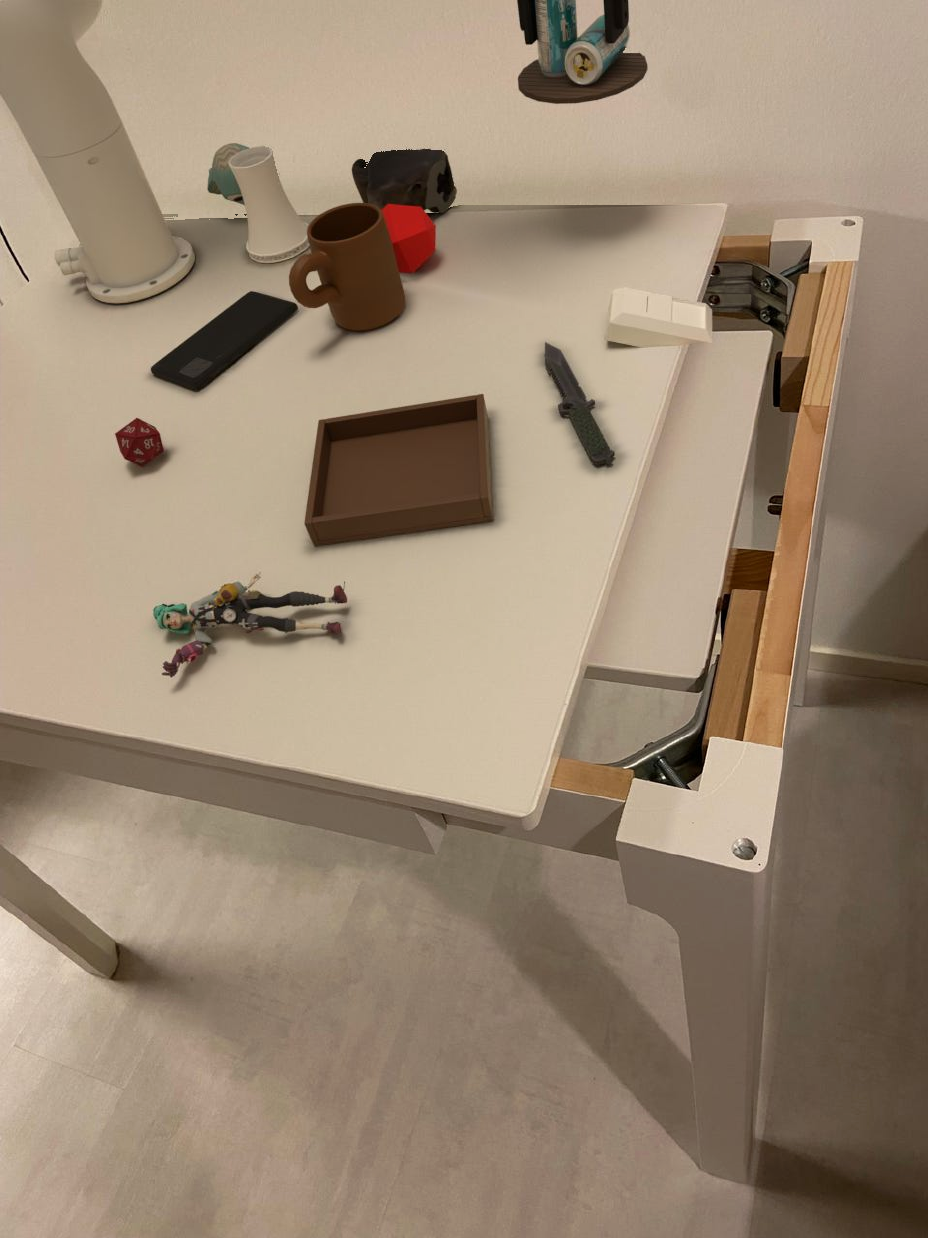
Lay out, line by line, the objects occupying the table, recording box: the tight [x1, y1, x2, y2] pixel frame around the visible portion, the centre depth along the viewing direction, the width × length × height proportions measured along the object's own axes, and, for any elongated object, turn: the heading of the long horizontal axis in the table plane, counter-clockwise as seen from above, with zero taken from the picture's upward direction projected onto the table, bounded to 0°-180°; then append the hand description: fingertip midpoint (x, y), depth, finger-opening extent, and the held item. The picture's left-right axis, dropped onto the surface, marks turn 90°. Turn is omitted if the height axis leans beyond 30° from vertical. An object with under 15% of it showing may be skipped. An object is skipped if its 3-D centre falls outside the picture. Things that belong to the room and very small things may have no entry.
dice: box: [114, 417, 165, 468], centre depth 83 cm, size 4×4×4 cm
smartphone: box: [150, 290, 299, 391], centre depth 95 cm, size 7×1×15 cm
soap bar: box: [604, 286, 713, 348], centre depth 83 cm, size 5×9×3 cm, turn 81°
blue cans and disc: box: [517, 0, 649, 105], centre depth 85 cm, size 12×12×8 cm
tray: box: [304, 393, 494, 547], centre depth 76 cm, size 14×13×2 cm
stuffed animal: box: [206, 142, 250, 206], centre depth 113 cm, size 11×7×12 cm
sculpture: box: [351, 148, 458, 214], centre depth 104 cm, size 21×6×12 cm
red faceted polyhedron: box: [381, 204, 437, 275], centre depth 97 cm, size 7×7×8 cm
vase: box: [228, 145, 310, 264], centre depth 103 cm, size 8×8×10 cm
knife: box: [544, 341, 615, 466], centre depth 79 cm, size 18×1×3 cm
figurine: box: [152, 571, 348, 679], centre depth 68 cm, size 7×15×4 cm, turn 100°
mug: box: [288, 202, 406, 332], centre depth 90 cm, size 12×8×9 cm, turn 143°
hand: (574, 36), depth 85 cm, fingers closed on blue cans and disc, 7 cm apart
